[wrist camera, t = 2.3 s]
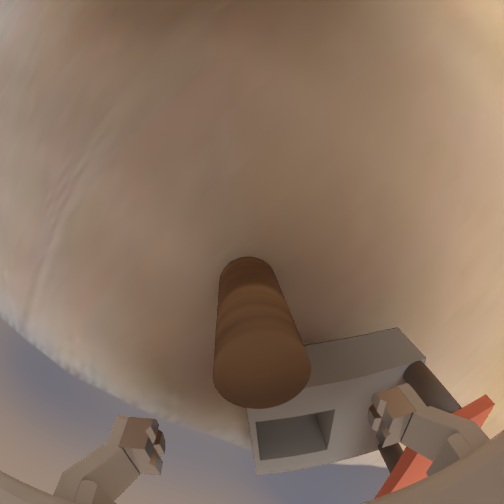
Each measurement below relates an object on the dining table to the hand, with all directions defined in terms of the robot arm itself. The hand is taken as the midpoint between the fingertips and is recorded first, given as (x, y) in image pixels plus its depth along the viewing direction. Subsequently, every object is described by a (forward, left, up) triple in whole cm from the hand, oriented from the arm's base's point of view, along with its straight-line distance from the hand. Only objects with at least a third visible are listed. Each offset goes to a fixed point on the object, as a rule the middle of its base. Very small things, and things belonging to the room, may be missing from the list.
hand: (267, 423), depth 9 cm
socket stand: (+11, +6, -12) cm, 18 cm away
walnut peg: (-1, 0, -12) cm, 12 cm away
